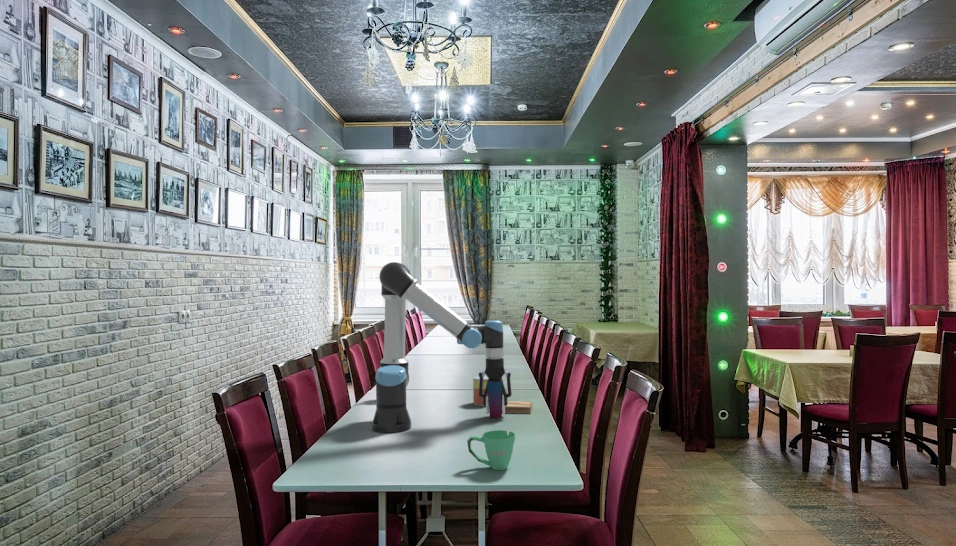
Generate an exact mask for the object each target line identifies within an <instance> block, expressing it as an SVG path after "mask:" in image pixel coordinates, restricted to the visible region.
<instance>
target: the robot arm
mask: <svg viewBox="0 0 956 546" xmlns="http://www.w3.org/2000/svg"><path fill="white" fill-rule="evenodd" d="M378 277H379V282H380V284H381V294H380V295H381V296H382V298H383V299H384V332H383V333H384V336H383V337H384V338H383V340H384V341H383V342H384V343H383V358H381V360H380V361H379V368H377V370H376V372H375V377H374V379H375V394H376V395H375V398H376V401H375V404H376V407H375V412H374V415H373V419H372V421H371V422H372V423H371V428H372V430H373V432H378V433H387V434H388V433H389V434H390V433H400V432H404V431H408V430H411V428H412V419H411V417H410V413H409V410H408V407H407V387H408V384H409V383H410V374H409V360H408V359H407V358H406V319H407V318H406V316H407V315H406V313H407V311H406V308H407V301H408V302H409V303H411V304H412V305H414V307H416V308H417V309H419V310H420V311H421V312H422V313H424V314H425V315H426V316H428V317H429V318H430V319H431V320H433V322H435V323H437V325H439V326H440V327H442V328H443V329H444V330H446V331H447V332H448V333H449V334H451V335H452V336H453V337H455V338H456V343H457V344H458V345H463V346H465V347H466V348H468V349H475V348H478V347H479V346H480V345H484V344H485V348H484V349H485V351H484V352H485V357H486V358H485V370H484V371H479V373H478V376H479V377H480V384H479V396H481V397H483V400H484V405H485V406H484V407H485V408H486V409H485V413H486V415H489V401H488V397H487V394H488V386H487V385H486V389H485V392H484V393H483V377H484V376H487V377H488V381H489V382H491V381H492V380H497V381H498V382H501V381H502V380H503V376H504V375H505V377H506V384H507V390H506V387H505V384H504V382H503V383H502V393H503V398H502V415H505V414H506V413H505V406H507V401H508V398H510V397H512V386H511V385H512V384H511V383H512V382H511V375H512V372H511V371H506V370H505V366H504V365H505V364H504V363H505V362H504V361H505V359H504V324H503V321H501V320H486V321H485V322H484V325H472V324H470V323H469V322H468V321H467V320H465V319H464V318H462V316H460V315H458V314H457V313H456V312H455V311H454V310H452V309H451V308H450V307H448V305H446V304H445V303H443V302H442V301H440V300H439V299H438V298H437V297H435V295H433V294H432V293H431V292H429V291H428V290H427V289H425V288H424V287H423V286H422V285H420V284H419V283H418V279H416V277H414V276H413V275H412V274H411V272H410V269H409V268H408V266H407V265H405V264H403V263H401V262H396V261H395V262H394V261H393V262H388V263H387V264H385V265H383V267H382V268H381V269H380V271H379V276H378Z"/></svg>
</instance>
